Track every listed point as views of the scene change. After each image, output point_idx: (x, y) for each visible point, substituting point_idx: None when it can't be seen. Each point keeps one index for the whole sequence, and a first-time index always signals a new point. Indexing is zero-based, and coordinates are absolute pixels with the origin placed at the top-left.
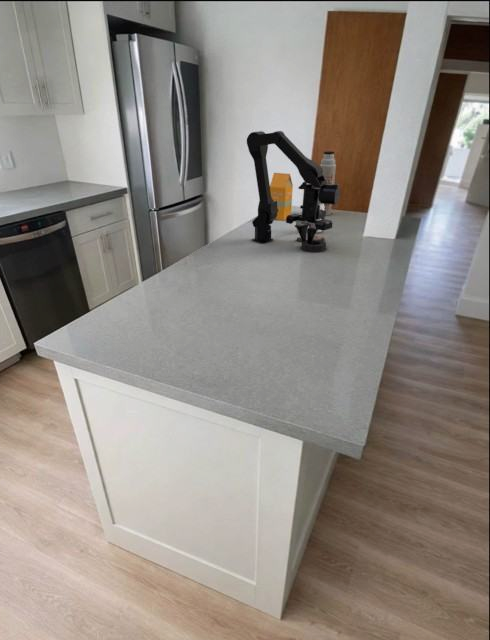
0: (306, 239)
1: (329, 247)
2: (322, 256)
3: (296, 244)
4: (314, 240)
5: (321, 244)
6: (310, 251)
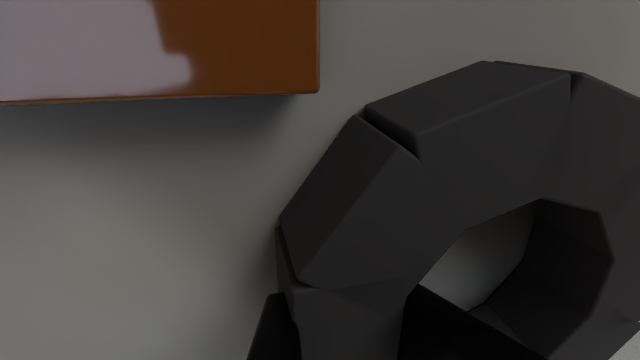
0: (73, 72)
1: (628, 19)
2: None
3: (98, 304)
4: (449, 197)
5: (635, 276)
6: None
